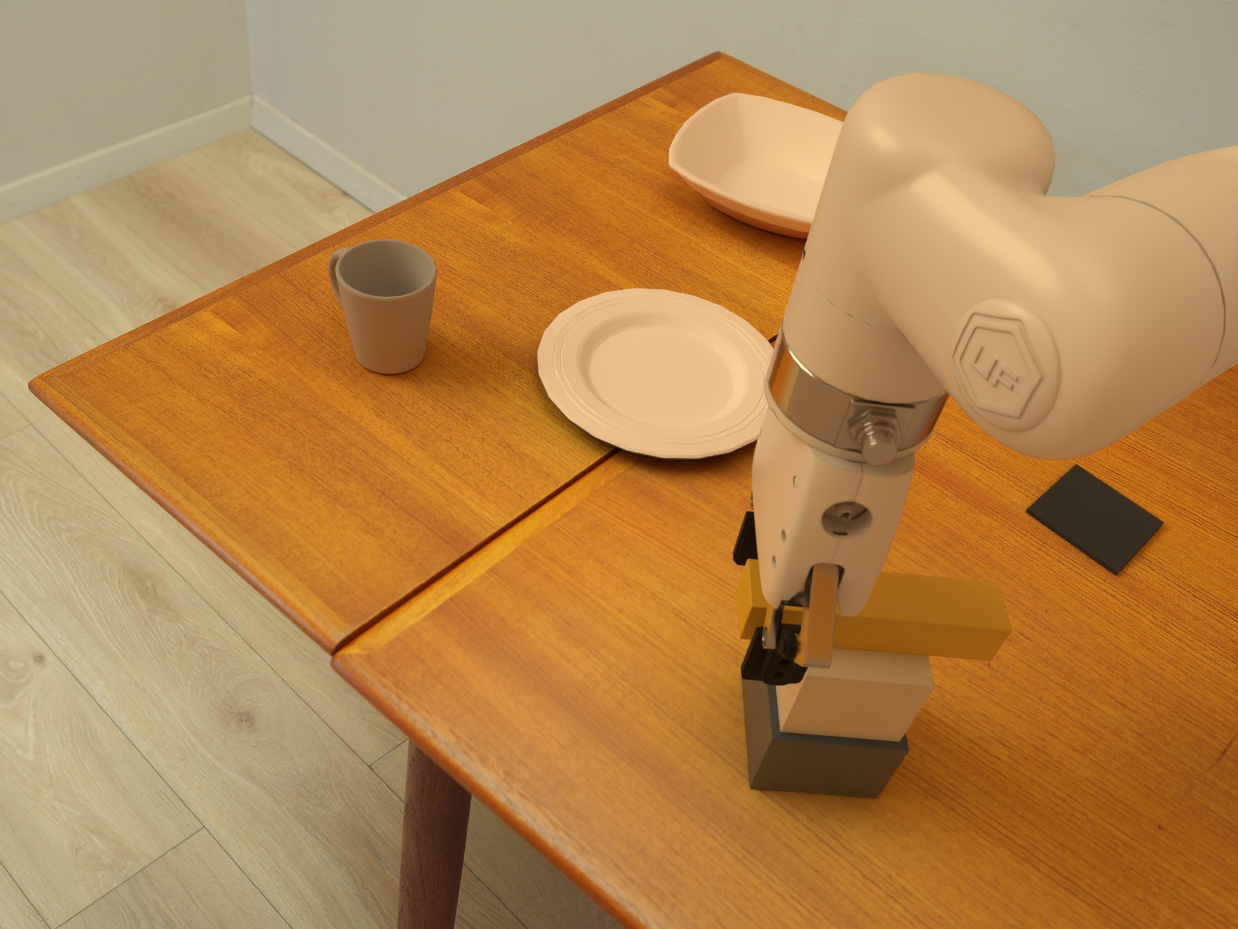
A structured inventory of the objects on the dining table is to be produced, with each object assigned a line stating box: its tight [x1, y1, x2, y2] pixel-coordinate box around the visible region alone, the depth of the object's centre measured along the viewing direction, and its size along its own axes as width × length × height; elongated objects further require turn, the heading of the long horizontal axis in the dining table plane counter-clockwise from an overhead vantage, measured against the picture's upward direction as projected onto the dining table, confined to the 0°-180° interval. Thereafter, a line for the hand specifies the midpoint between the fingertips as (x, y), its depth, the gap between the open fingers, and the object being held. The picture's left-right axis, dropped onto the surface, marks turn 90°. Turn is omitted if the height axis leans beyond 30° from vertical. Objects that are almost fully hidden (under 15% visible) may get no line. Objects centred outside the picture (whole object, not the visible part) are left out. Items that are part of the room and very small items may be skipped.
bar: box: [735, 559, 1013, 662], centre depth 57 cm, size 14×3×3 cm, turn 89°
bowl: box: [668, 92, 844, 239], centre depth 108 cm, size 22×22×5 cm
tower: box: [741, 647, 936, 799], centre depth 62 cm, size 8×8×12 cm
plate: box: [536, 287, 774, 461], centre depth 87 cm, size 21×21×2 cm
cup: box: [327, 238, 438, 375], centre depth 83 cm, size 8×10×8 cm
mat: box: [1025, 463, 1165, 576], centre depth 83 cm, size 8×8×1 cm
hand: (764, 615), depth 57 cm, fingers open, 6 cm apart
